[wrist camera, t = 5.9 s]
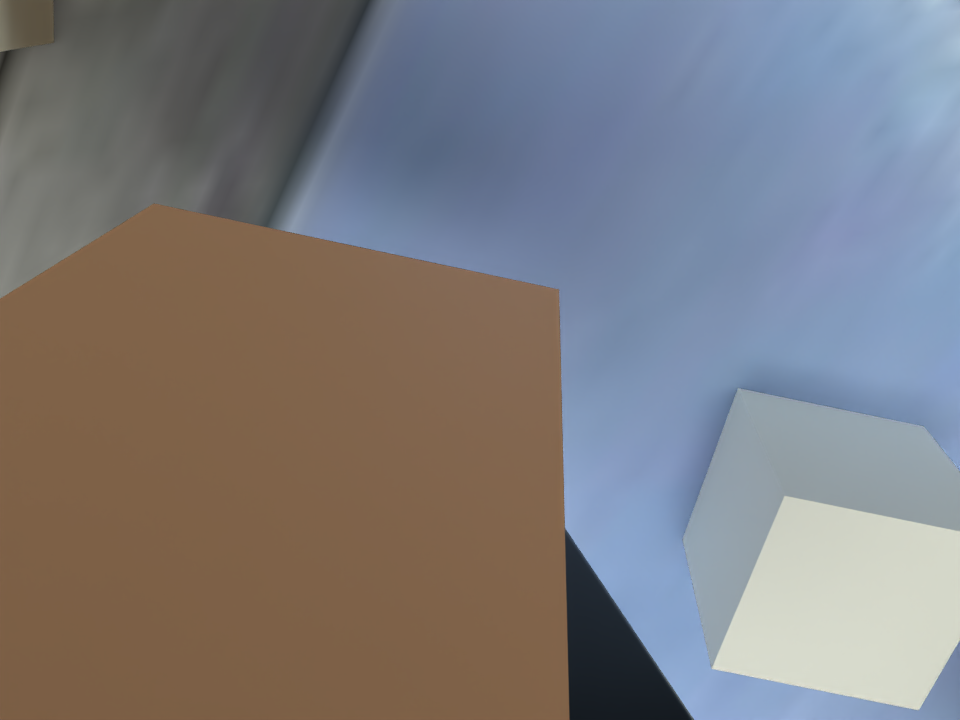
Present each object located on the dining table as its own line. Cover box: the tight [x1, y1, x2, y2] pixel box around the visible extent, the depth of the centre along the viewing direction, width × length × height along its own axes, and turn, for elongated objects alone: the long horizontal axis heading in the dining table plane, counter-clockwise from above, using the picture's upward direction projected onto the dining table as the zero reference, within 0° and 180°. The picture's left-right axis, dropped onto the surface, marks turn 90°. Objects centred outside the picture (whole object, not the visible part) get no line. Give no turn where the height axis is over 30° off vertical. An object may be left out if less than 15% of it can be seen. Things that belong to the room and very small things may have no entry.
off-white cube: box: [682, 388, 960, 710], centre depth 21 cm, size 5×5×5 cm
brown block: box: [0, 204, 569, 720], centre depth 7 cm, size 4×4×7 cm
